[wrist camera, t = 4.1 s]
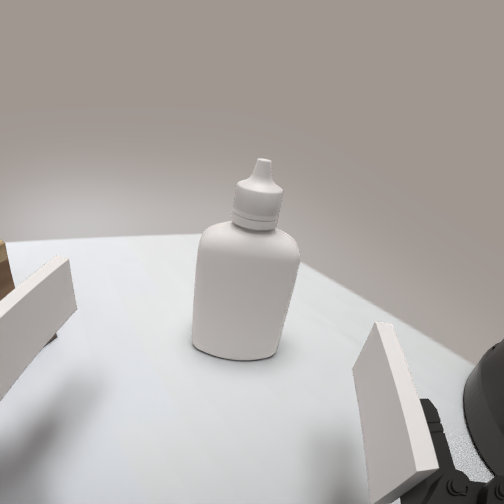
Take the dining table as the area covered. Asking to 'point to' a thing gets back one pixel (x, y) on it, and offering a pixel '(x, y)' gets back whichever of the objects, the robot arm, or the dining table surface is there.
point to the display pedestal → (7, 276)
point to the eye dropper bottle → (245, 274)
